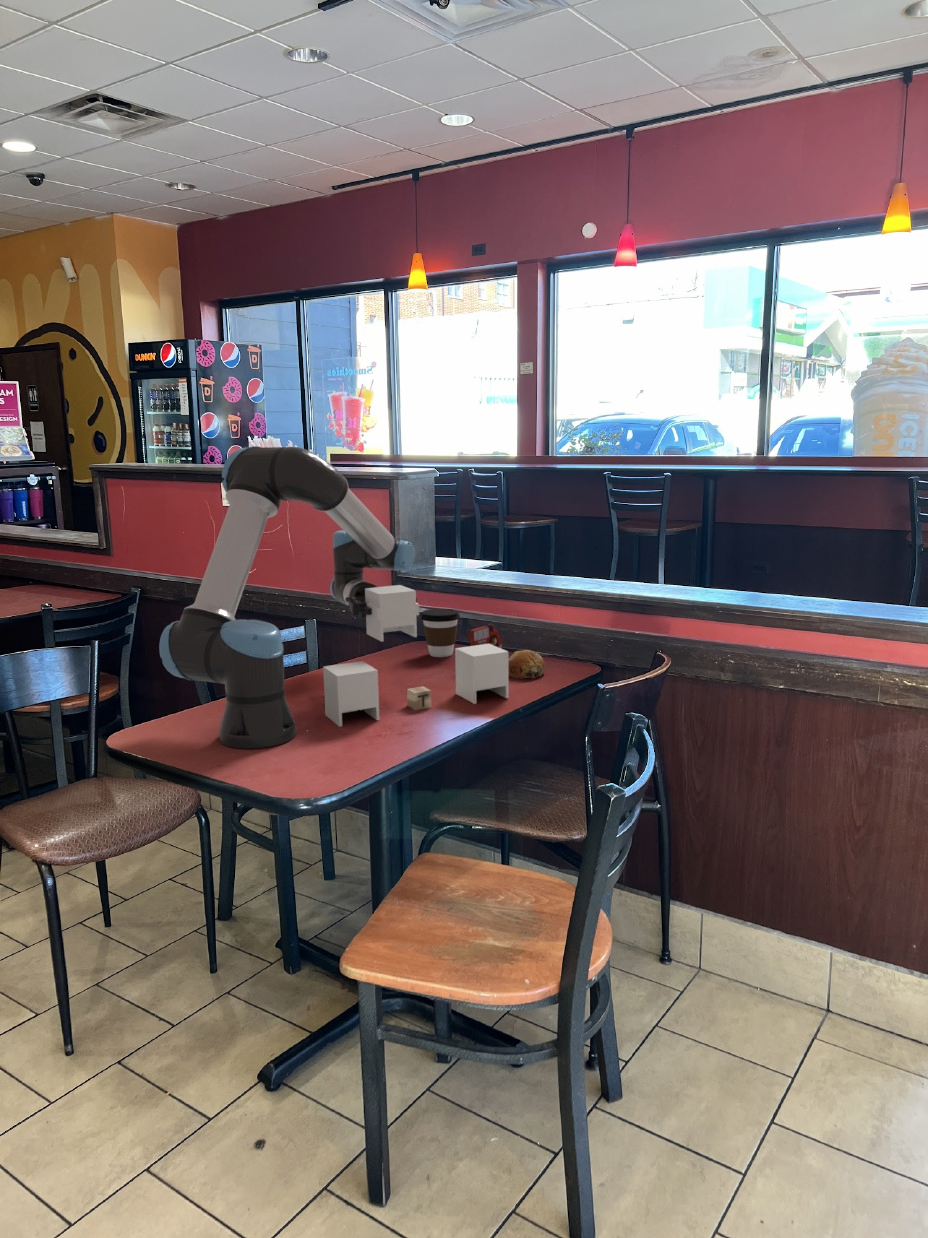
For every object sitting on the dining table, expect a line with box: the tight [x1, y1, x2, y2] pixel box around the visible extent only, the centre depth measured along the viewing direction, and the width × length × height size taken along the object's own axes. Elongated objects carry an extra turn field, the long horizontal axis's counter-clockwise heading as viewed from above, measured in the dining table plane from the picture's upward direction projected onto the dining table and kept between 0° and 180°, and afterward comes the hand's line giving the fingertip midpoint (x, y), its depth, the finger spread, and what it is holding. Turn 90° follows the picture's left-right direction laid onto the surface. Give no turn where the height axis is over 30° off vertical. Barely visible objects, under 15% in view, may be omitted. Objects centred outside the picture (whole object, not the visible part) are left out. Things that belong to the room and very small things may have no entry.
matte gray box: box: [454, 644, 510, 705], centre depth 205 cm, size 9×9×11 cm
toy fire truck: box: [468, 623, 505, 650], centre depth 234 cm, size 7×12×10 cm, turn 140°
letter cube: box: [406, 686, 432, 711], centre depth 199 cm, size 4×4×4 cm
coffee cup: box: [419, 608, 461, 658], centre depth 244 cm, size 11×11×12 cm
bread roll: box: [508, 649, 546, 680], centre depth 224 cm, size 10×10×8 cm
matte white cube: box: [322, 660, 380, 728], centre depth 191 cm, size 9×9×11 cm
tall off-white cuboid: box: [365, 584, 418, 643], centre depth 208 cm, size 9×9×11 cm
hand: (398, 611), depth 204 cm, fingers closed on tall off-white cuboid, 9 cm apart
